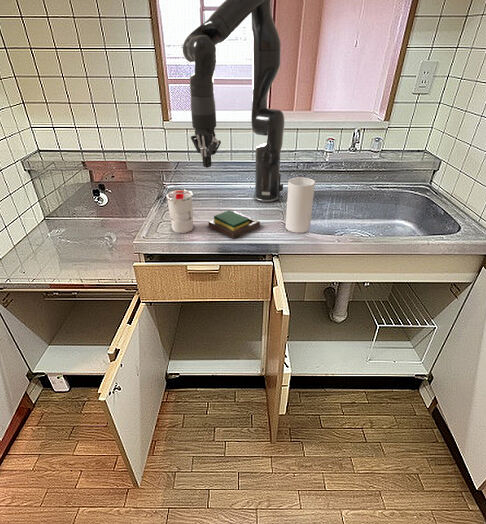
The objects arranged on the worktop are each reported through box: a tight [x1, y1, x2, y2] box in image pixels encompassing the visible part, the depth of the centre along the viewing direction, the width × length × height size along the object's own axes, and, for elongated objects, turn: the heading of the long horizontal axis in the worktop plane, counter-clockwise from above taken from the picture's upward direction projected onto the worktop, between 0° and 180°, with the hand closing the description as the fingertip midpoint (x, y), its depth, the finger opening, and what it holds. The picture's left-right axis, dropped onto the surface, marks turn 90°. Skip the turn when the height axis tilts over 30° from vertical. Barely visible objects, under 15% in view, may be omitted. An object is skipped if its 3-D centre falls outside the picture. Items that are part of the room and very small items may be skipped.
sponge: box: [213, 210, 249, 231], centre depth 120 cm, size 7×10×3 cm
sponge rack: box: [207, 210, 261, 240], centre depth 120 cm, size 12×12×2 cm
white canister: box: [165, 189, 194, 234], centre depth 116 cm, size 10×8×12 cm
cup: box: [284, 176, 316, 234], centre depth 115 cm, size 8×8×16 cm
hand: (207, 166), depth 119 cm, fingers closed
